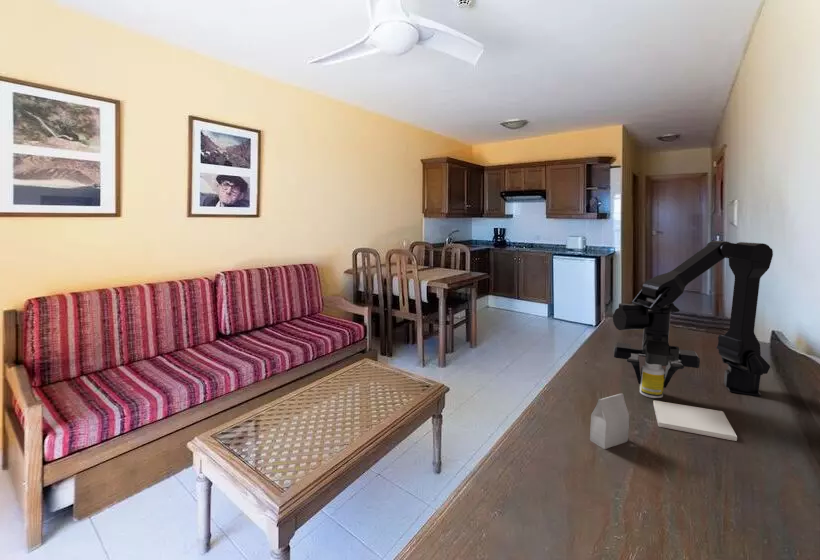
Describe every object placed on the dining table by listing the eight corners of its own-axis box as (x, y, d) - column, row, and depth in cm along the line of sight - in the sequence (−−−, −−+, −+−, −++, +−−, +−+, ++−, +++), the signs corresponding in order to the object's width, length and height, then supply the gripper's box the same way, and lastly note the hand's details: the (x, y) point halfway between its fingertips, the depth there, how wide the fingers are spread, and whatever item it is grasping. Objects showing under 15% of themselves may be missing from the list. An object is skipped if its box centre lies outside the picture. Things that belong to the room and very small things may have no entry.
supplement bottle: (666, 399, 101) (669, 363, 100) (643, 398, 102) (646, 362, 101) (658, 390, 106) (660, 356, 105) (636, 389, 107) (638, 355, 106)
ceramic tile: (722, 415, 93) (722, 411, 93) (736, 441, 82) (737, 436, 82) (653, 403, 99) (653, 400, 99) (658, 426, 88) (658, 422, 88)
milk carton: (627, 441, 83) (630, 397, 81) (604, 449, 80) (607, 403, 79) (612, 433, 86) (615, 390, 85) (589, 440, 84) (592, 396, 82)
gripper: (616, 332, 99) (612, 391, 101) (707, 341, 90) (700, 405, 93) (615, 322, 108) (612, 375, 111) (697, 329, 100) (692, 387, 102)
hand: (651, 385), depth 104 cm, fingers closed on supplement bottle, 5 cm apart
